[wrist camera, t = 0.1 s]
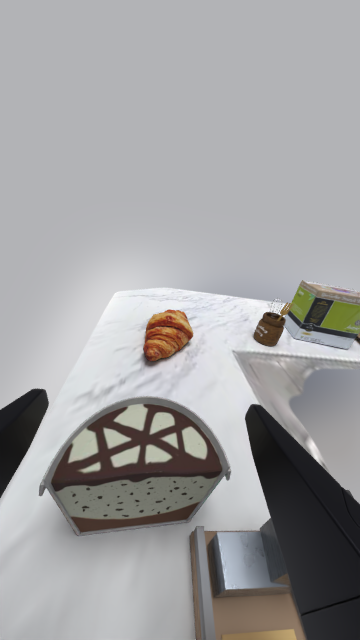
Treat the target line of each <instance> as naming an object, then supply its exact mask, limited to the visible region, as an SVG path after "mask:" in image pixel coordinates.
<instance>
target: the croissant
mask: <svg viewBox="0 0 360 640" xmlns="http://www.w3.org/2000/svg"><path fill="white" fill-rule="evenodd" d="M192 337H193V331H192V329H191V327H190V324H189V322H188V320H187V317H186V315H185V313H184V312H181V311H179V310H176V311H175V310H167V311H165V312H164V313H159V314H155V315H153V316H152V318H151V319H150V320H149V322H148V324H147V327H146V336H145V345H144V348H143V350H144V353H145V357H146V359H147V360H150V361H151V360H152V361H156V360H158V359H160V358H166V357H169V356H171V355H172V354H173V353H175V352H177V351H179V350H180V349H181V348H182V347H183V346H184V345H185V344H186V343H188V341H190V339H191V338H192Z"/></svg>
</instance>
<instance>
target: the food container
mask: <svg viewBox="0 0 360 640" xmlns="http://www.w3.org/2000/svg"><path fill="white" fill-rule="evenodd" d="M230 473H231V469H230V464H229V462H228V459H227V456H226V454H225V452H224V450H223V448H222V446H221V444H220V442H219V440H218V439H217V437H216V436H215V434H214V433H213V431H212V430H211V429H210V427H209V426H208V425H207V424H206V423H205V422H204V421H203V420H202V419H201V418H200V417H199V416H198V415H197V414H196V413H194V412H193V411H191V410H190V409H188V408H187V407H185V406H183V405H181V404H179V403H177V402H175V401H172V400H169V399H165V398H160V397H152V396H143V397H133V398H128V399H124V400H121V401H118V402H115V403H113V404H111V405H109V406H107V407H105V408H103V409H101V410H100V411H98V412H96V413H95V414H93V415H92V416H91V417H89V418H88V419H87V420H86V421H84V422H83V423H82V424H81V425H80V426H79V427H78V428H77V429H76V430H75V431H74V432H73V433H72V434H71V435H70V436H69V438H68V439H67V440H66V441H65V443H64V444H63V445H62V446H61V448H60V449H59V451H58V452H57V454H56V456H55V457H54V459H53V460H52V462H51V464H50V466H49V467H48V469H47V471H46V473H45V475H44V477H43V479H42V482H41V484H40V489H39V496H42V495H43V493H44V490H45V488H47V489H48V491H49V492H50V494H51V496H52V497H53V499H54V500H55V502H56V503H57V505H58V506H59V508H60V509H61V511H62V513H63V514H64V516H65V517H66V519H67V520H68V522H69V523H70V525H71V526H72V528H73V530H74V531H75V533H76V534H77V536H83V535H91V534H99V533H107V532H115V531H123V530H131V529H139V528H148V527H156V526H164V525H172V524H180V523H188V522H189V521H190V520H191V519H192V517H193V516H194V515H195V513H196V512H197V511H198V510H199V508H200V507H201V506H202V504H203V503H204V502H205V500H206V499H207V498H208V496H209V495H210V494H211V493H212V491H213V490H214V489H215V487H216V486H217V485H218V483H219V482H220V481H221V479H222V478H223V477H224V475H225V476H226V479H227V480H229V478H230Z"/></svg>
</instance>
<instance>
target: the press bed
mask: <svg viewBox="0 0 360 640" xmlns="http://www.w3.org/2000/svg"><path fill="white" fill-rule="evenodd" d="M217 532H258V531H204V526H196V528H195V530H194V531H192V533H191V535H190V548H191V565H192V581H193V598H194V614H195V630H196V640H307V637H306V634H305V631H304V627H303V624H302V621H301V617H300V613H299V610H298V607H297V603H296V600H295V597H294V593H293V592H292V593H289V594H278V595H259V596H241V597H223V598H214V596H213V588H212V579H211V570H210V561H209V552H208V544H209V542H210V541H211V540H212V538H213V537H214V536H215V534H216V533H217Z"/></svg>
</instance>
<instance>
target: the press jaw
mask: <svg viewBox="0 0 360 640" xmlns="http://www.w3.org/2000/svg"><path fill="white" fill-rule="evenodd" d="M346 491H347V492H348V493H349V494H350V495H351V496H352V494H351V493H350V491H349V490H346ZM352 497H353V496H352ZM208 552H209V561H210V570H211V579H212V588H213V596H214V598H223V597H241V596H259V595H278V594H289V593H292V592H293V590H292V587H291V583H290V580H289V577H288V573H287V570H286V566H285V563H284V560H283V556H282V553H281V550H280V546H279V543H278V540H277V536H276V533H275V530H274V526H273V523H272V520H271V518H270V519H269V520H268V521H267V522H266V523H265V524H264V525H263V526H262V527H261V528H260V531H258V532H217V533H216V534H215V536H214V537H213V538H212V540H211V541H210V542H209V544H208Z"/></svg>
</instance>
